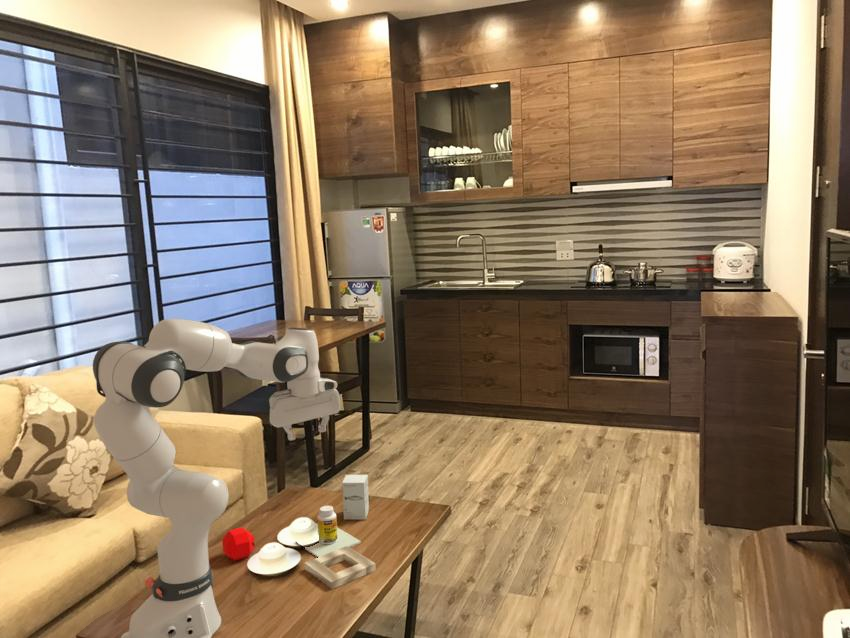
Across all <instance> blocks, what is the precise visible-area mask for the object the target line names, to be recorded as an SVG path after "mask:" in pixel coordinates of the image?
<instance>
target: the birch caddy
mask: <svg viewBox="0 0 850 638" xmlns="http://www.w3.org/2000/svg"><path fill="white" fill-rule="evenodd" d="M344 561H345V562H346V563H348V564H350V565H351V566H349V567H347V568H345V569H341V570H340V571H337V572H334V570H332V569H330V568H329V567H331V566H333V565H336V564H338V563H341V562H344ZM304 570H305V571H306V572H308V573H309V574H310V573H311V574H310V575H312V576H313V577H315V578H316V577H317V578H318V579H317V578H316V579H317V580H319V581H320V580H321V581H322V582H321V581H320V582H321V583H323V584H324V583H325V584H326V585H325V584H324V585H325V586H327V587H328V588H329V589H331V590H334V589H336V588H339V587H341V586H343V585H346V584H348V583H350V582H352V581H356V580H357V579H360V578H362V577H363V576H366V575H368V574H371V573H373V572H375V571H377V566H376V563H375V562H374V561H372V560H371V559H369V558H368V557H366V556H364V555H363V554H361V553H360V552H358V551H356V550H355V549H353V548H352V547H348V546H346V547H343V548H341V549H338V550H335V551H333V552H330V553H328V554H325V555H323V556H320V557H318V558H317V557H315V558H313V559H310V560H308V561H305V562H304Z"/></svg>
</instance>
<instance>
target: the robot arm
mask: <svg viewBox="0 0 850 638" xmlns="http://www.w3.org/2000/svg"><path fill="white" fill-rule="evenodd" d="M318 343H319V342H318V338H317V335H316V332H315V331H314V330H313V329H312V328H309V327H293V326H292V327H288V328H286V330H285V334H284V335H283V337H282V338H280V340H278V341H277V342H275V343H267V342H261V341H255V340H249V341H245V342H243V343H239V344H238V343H234V342H232V339H231V336H230V333H228V332H227V330H224V329H223V328H221V327H218V326H216V325H215V324H214V325H213V324H210V323H207V322H202V321H198V320H192V319H186V318H185V319H184V318H166V319H162V320H160V321H158V322H157V323H156V324H155V325H154V326H153V328H152V329H151V331H150V333H149V337H148V341H147V342H146V344H144V345H143V346H140V345H137V344H133V342H129V341H112V342H109V343H107V344H104V345H102V347H100V348H99V349H98V351H97V352H96V354H95V355H94V357H93V360H92V361H93V362H92V373H93V377H94V379H95V381H96V390H97V393H98V395H100V396H101V397H103V398H105V400H104V401H103V402H102V404H100V405H99V406H98V408H97V409H96V410H95V413H94V417H93V426H94V428H95V430H96V432H97V434H98V436H99V439H100V441H101V442H102V444H103V445H104V447H105V448H106V450H107V452H109V453H110V455H111V456H112V458H113V459H114V460H115V461H116V462H117V464H118V465H119V466H120V468H121V469H122V470H123V472H124V473H126V475H127V476H128V477H129V481H128V484H127V487H126V499H127V501H128V503H129V505H130V506H131V507H133V508H134V509H136V510H139V511H140V512H142V513H145V514H147V515H150V516H156V517H162V518H168V519H169V520H170V522H171V531H169V532H168V533H166V534H165V535H164V536H163V537H162V538H161V540H160V541H159V543H158V545H157V548H156V549H157V559H158V570H159V575H158V577H157V578H156V580H155V579H154V578H153V577H151V576H149V577H147V578H146V579H145V580H144V581H145V582H144V584H145V585H146V587H147V588H148V589H152V594H151V595H150V596H149V597H148V598H147V599H146V600H145V601H144V602H143V603H142V604H141V605H140V606H139V607H138V608H137V609H136V610H135V611H134V612H133V613H132V615H131V617H130V621H129V630H128V631H126V632H124V633H123V634H121V636H120V638H212V636H213V635H214V633H216V632H217V630H218V629H220V626H221V624H222V616H221V614H220V613H219V610H218V607H217V604H216V601H215V596H214V591H213V588H214V577H213V576H214V575H213V570H212V566H211V564H210V561H209V559H210V558H209V533H210V529H211V527H212V525H213V523H214V522H215V521H216V520H218V519H219V518H220V517H221V516H222V515H223V514H224V513H225V510H226V509H227V506H228V504H229V497H230V496H229V490H228V486H227V484H226V482H225V481H224V480H223V479H221V478H218V477H216V476H214V475H211V474H209V473H205V472H198V471H192V470H186V469H185V470H184V469H181V468H179V467H177V466H175V465H174V462H175V460H176V459H175V458H176V453H177V451H176V446H175V444H174V443H173V442H172V441H171V439H170V438H169V437H168V435H167V434H166V432H165V431H164V429H163V428H162V427H161V425H160V424H159V422H158V421H157V420H156V419H155V417H154V416H153V415H152V412H151V409H150V408H165V407H166V406H169V405H171V404H172V403H173V402H174V401H175V400H176V399H177V398H178V396H179V395H180V393H181V391H182V389H183V386H184V383H185V377H186V374H187V370H189V371H196V372H204V373H205V372H211V373H212V372H218V371H221V370H222V369H223V368H227V369H228V368H229V369H232V370H234V371H235V372H236V373H237V374H238V375H239V376H241V377H242V378H244V379H248V380H259V381H268V382H275V383H287V384H286V386H287V389H284V390H281V391H276V392H274V393H273V394H272V395H271V396H270V397H269V400H268V403H269V407H270V408H269V424H271V426H273V427H275V428H283V429H284V431H285V433H286V434H287V439H288V441H295V440H296V439H297V438H296V435H297V433H295V432H294V431H291V429H292V425H294V424H299V423H303V422H307V421H312V420H314V419H315V420H316V419H320V418H321V422H320V424H318V425H317V427H318V432H319V433H321V434H322V433H324V432H327V425H328V422H329V420H330V416H332V415H336V414H338V413H339V412H340V411H341V408H342V407H341V398H340V393H339V391H338V390H337V388H338V382H337V381H335V380H333V379H330V378H327V377H322V376H321V372H320V369H319V361H320V353H319V344H318Z"/></svg>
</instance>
